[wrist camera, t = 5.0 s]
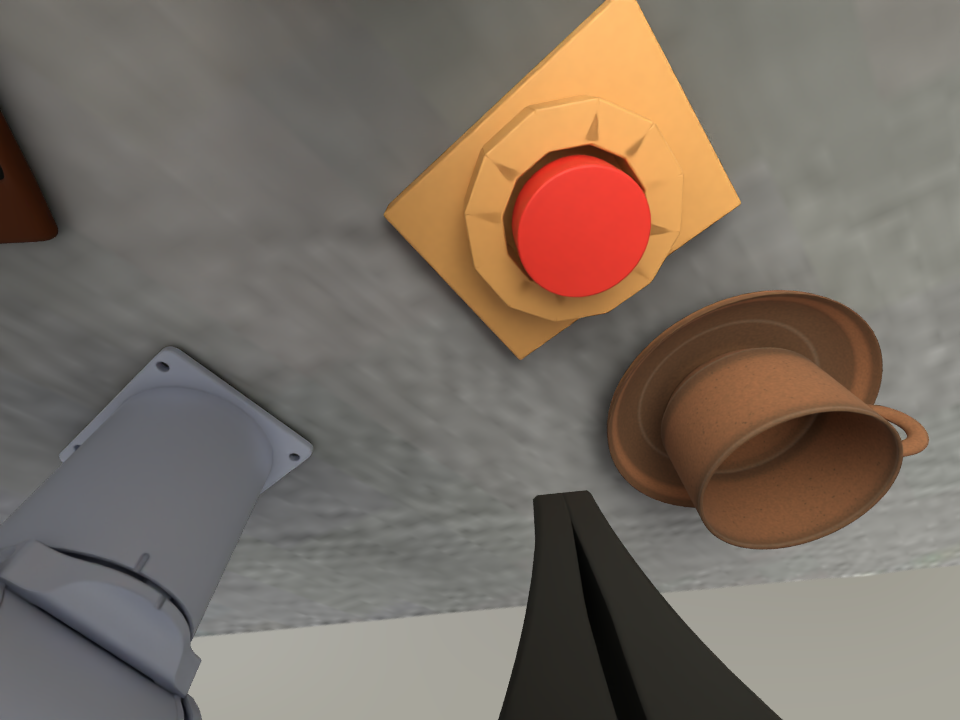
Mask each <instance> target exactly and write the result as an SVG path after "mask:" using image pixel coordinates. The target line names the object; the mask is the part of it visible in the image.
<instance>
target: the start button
mask: <svg viewBox="0 0 960 720" xmlns="http://www.w3.org/2000/svg"><path fill="white" fill-rule="evenodd" d="M650 232H651V213H650V208H649V204H648V201H647V198H646V196H645V194H644V192H643V191H642V189H641V188H640V186H639V185H638V184H637V183H636V182H635V181H634V180H633V179H632V178H631V177H630V176H629V175H627V174H626V173H624V172H623V171H621V170H620V169H618V168H616V167H615V166H613V165H612V164H610V163H608V162H606V161H604V160H602V159H600V158H597V157H594V156H588V155H572V156H566V157H563V158H559V159H557V160H554V161H552V162H550V163H548V164H546V165H545V166H543V167H542V168H541V169H539V170H538V171H537V172H535V173H534V174H533V175H532V176H531V177H530V178H529V180H528V181H527V182H526V183H525V185H524V186H523V188H522V189H521V191H520V193H519V195H518V197H517V199H516V202H515V205H514V209H513V214H512V234H513V238H514V242H515V245H516V248H517V251H518V254H519V257H520V260H521V263H522V265H523V267H524V269H525V271H526V272H527V273H528V275H529V276H530V277H531V278H532V279H533V280H534V281H535V283H537V284H538V285H539V286H541V287H542V288H544V289H545V290H547V291H549V292H552V293H554V294H557V295H561V296H566V297H586V296H591V295H596V294H598V293H601V292H604V291H606V290H608V289H610V288H612V287H613V286H615V285H617V284H618V283H620V282H621V281H622V280H623V279H625V278H626V277H627V276H628V275H629V274H630V273H631V272H632V270H633V269H634V268H635V267H636V265H637V264H638V263H639V261H640V259H641V258H642V256H643V254H644V252H645V250H646V247H647V244H648V241H649V236H650Z"/></svg>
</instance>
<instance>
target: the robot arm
mask: <svg viewBox="0 0 960 720" xmlns="http://www.w3.org/2000/svg"><path fill="white" fill-rule="evenodd" d="M162 362H164V363H166V364H167V365H168V366H169V367H166V366H164V365H163V364H162ZM312 451H313V446H312V444H311V443H310V442H309V441H307V440H306V439H304V438H303V437H302V436H300V435H299V434H297V433H296V432H295V431H293V430H292V429H290V428H289V427H288V426H286V425H285V424H283V423H282V422H281V421H279V420H278V419H276V418H275V417H274V416H272V415H271V414H269V413H268V412H267V411H265V410H264V409H262V408H261V407H260V406H258V405H257V404H255V403H254V402H253V401H251V400H250V399H248V398H247V397H246V396H244V395H243V394H241V393H240V392H239V391H237V390H236V389H234V388H233V387H232V386H230V385H229V384H227V383H226V382H225V381H223V380H222V379H220V378H219V377H218V376H216V375H215V374H213V373H212V372H211V371H209V370H208V369H206V368H205V367H204V366H202V365H201V364H199V363H198V362H197V361H195V360H194V359H192V358H191V357H190V356H188V355H187V354H185V353H184V352H183V351H181V350H180V349H178V348H176V347H172V346H169V347H165V348H163V349H162V350H161V351H160V352H159V353H158V354H157V355H156V356H155V357H154V358H153V359H152V360H151V361H150V362H149V363H148V364H147V365H146V366H145V367H144V368H143V369H142V370H141V371H140V372H139V373H138V374H137V375H136V376H135V377H134V378H133V379H132V380H131V381H130V382H129V383H128V385H127V386H126V387H125V388H124V389H123V390H122V391H121V392H120V393H119V394H118V395H117V396H116V397H115V398H114V399H113V400H112V401H111V402H110V403H109V404H108V405H107V406H106V407H105V408H104V409H103V410H102V411H101V412H100V413H99V414H98V415H97V416H96V417H95V418H94V419H93V420H92V421H91V422H90V423H89V424H88V425H87V426H86V427H85V428H84V429H83V430H82V431H81V432H80V433H79V434H78V435H77V436H76V437H75V438H74V440H73V441H72V442H71V443H70V444H69V445H68V446H67V447H66V448H65V449H64V450H63V451H62V452H61V453H60V454H59V458H60V460H61V461H62V462H63V464H62V465H61V466H60V467H59V468H58V469H57V470H56V471H55V472H54V473H53V474H52V475H51V476H50V477H49V478H48V479H47V480H46V481H44V482H43V483H42V484H41V485H40V486H39V487H38V488H37V489H36V490H35V491H34V492H33V493H32V494H31V495H30V496H29V497H28V498H27V499H26V500H25V501H24V502H23V503H22V504H21V505H20V506H19V507H18V508H17V509H16V510H15V511H14V512H13V513H12V514H11V515H10V516H9V517H8V518H7V519H6V520H5V521H4V522H3V523H2V524H1V525H0V720H202V718H201V714H200V710H199V708H198V706H197V704H196V702H195V701H194V699H193V698H192V697H191V696H190V695H189V694H187V693H188V690H189V688H190V686H191V683H192V681H193V679H194V677H195V674H196V672H197V670H198V667H199V665H200V663H201V659H200V658H199V657H198V656H197V655H196V654H195V653H194V652H193V650H192V649H191V646H190V642H191V641H192V639H193V637H194V635H195V632H196V630H197V628H198V626H199V624H200V622H201V620H202V617H203V615H204V613H205V611H206V609H207V607H208V605H209V602H210V600H211V598H212V596H213V594H214V592H215V590H216V587H217V585H218V583H219V581H220V579H221V577H222V575H223V572H224V570H225V568H226V566H227V564H228V562H229V560H230V557H231V555H232V553H233V551H234V549H235V547H236V545H237V542H238V540H239V538H240V536H241V534H242V532H243V529H244V527H245V525H246V523H247V521H248V519H249V517H250V514H251V512H252V510H253V508H254V506H255V504H256V502H257V499H258V497H259V495H260V494H262V493H263V492H264V491H265V490H267V489H268V488H269V487H271V486H272V485H273V484H275V483H276V482H277V481H279V480H280V479H281V478H283V477H284V476H285V475H286V474H288V473H289V472H290V471H292V470H293V469H294V468H296V467H297V466H298V465H300V464H301V463H302V462H304V461H305V460H306V459H308V458H309V457H310V456H311V454H312ZM292 453H295V454H298V455H299V456H296V455H293V454H292ZM533 506H534V524H535V551H534V561H533V570H532V578H531V585H530V591H529V597H528V602H527V609H526V614H525V619H524V624H523V629H522V634H521V638H520V642H519V646H518V651H517V655H516V659H515V663H514V666H513V670H512V674H511V678H510V681H509V685H508V688H507V692H506V696H505V699H504V702H503V706H502V709H501V712H500V716H499V719H498V720H782V719H781V718H780V717H779V716H778V715H777V714H776V713H775V712H774V711H773V710H771V709H770V708H769V707H768V706H767V705H766V704H765V703H764V702H763V701H762V700H761V699H760V698H759V697H758V696H757V695H756V694H755V693H754V692H753V691H751V690H750V689H749V688H748V687H747V686H746V685H745V684H744V683H743V682H742V681H741V680H740V679H739V678H738V677H737V676H735V674H734V673H732V672H731V671H730V670H729V669H728V668H727V667H726V666H725V665H724V663H722V661H721V660H720V659H719V658H718V657H717V656H716V655H715V654H714V653H713V652H712V651H711V650H710V649H709V648H708V647H707V646H706V645H705V644H704V643H703V642H702V641H701V640H700V639H699V637H698V636H697V635H696V634H695V633H694V632H693V631H692V630H691V629H690V628H689V627H688V626H687V624H686V623H685V622H684V621H683V620H682V619H681V618H680V616H679V615H678V614H677V613H676V612H675V611H674V609H673V608H672V607H671V606H670V605H669V604H668V602H667V601H666V600H665V599H664V597H663V596H662V595H661V594H660V593H659V591H658V590H657V589H656V588H655V586H654V585H653V584H652V583H651V581H650V580H649V579H648V578H647V576H646V575H645V574H644V572H643V571H642V570H641V568H640V567H639V566H638V564H637V563H636V562H635V560H634V559H633V558H632V556H631V555H630V554H629V552H628V551H627V550H626V548H625V547H624V545H623V544H622V542H621V541H620V540H619V538H618V537H617V535H616V534H615V532H614V531H613V529H612V528H611V526H610V525H609V523H608V522H607V520H606V518H605V517H604V515H603V514H602V512H601V510H600V509H599V507H598V505H597V503H596V502H595V500H594V498H593V496H592V494H591V493H590V492H588V491H587V490H586V491H576V492H566V493H556V494H546V495H537V496H536V497H535V498H534V499H533Z"/></svg>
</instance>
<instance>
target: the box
mask: <svg viewBox="0 0 960 720" xmlns="http://www.w3.org/2000/svg"><path fill="white" fill-rule="evenodd" d="M572 155H588V156H594V157H597V158H600V159H602V160H604V161H606V162H608V163H610V164H612V165H613V166H615V167H616V168H618V169H620V170H621V171H623V172H624V173H626V174H627V175H629V176H630V177H631V178H632V179H633V180H634V181H635V182H636V183H637V184H638V185H639V186H640V188H641V189H642V191H643V192H644V194H645V196H646V198H647V201H648V204H649V208H650V213H651V232H650V236H649V241H648V244H647V247H646V250H645V252H644V254H643V256H642V258H641V259H640V261H639V263H638V264H637V265H636V267H635V268H634V269H633V270H632V272H631V273H630V274H629V275H628V276H627V277H626V278H625V279H623V280H622V281H621V282H620V283H618V284H617V285H615V286H613V287H612V288H610V289H608V290H606V291H604V292H601V293H598V294H596V295H591V296H586V297H566V296H561V295H557V294H554V293H552V292H549V291H547V290H545V289H544V288H542V287H541V286H539V285H538V284H537V283H535V281H534V280H533V279H532V278H531V277H530V276H529V275H528V273H527V272H526V271H525V269H524V267H523V265H522V263H521V260H520V257H519V254H518V251H517V248H516V245H515V242H514V238H513V234H512V214H513V209H514V205H515V202H516V199H517V197H518V195H519V193H520V191H521V189H522V188H523V186H524V185H525V183H526V182H527V181H528V180H529V178H530V177H531V176H532V175H533V174H534V173H535V172H537V171H538V170H539V169H541V168H542V167H543V166H545V165H546V164H548V163H550V162H552V161H554V160H557V159H559V158H563V157H566V156H572ZM740 204H741V201H740V199H739V197H738V195H737V194H736V192H735V190H734V188H733V186H732V184H731V182H730V180H729V178H728V176H727V174H726V172H725V170H724V169H723V167H722V165H721V163H720V161H719V159H718V157H717V155H716V153H715V151H714V149H713V147H712V145H711V144H710V142H709V140H708V138H707V136H706V134H705V132H704V130H703V128H702V126H701V124H700V122H699V120H698V119H697V117H696V115H695V113H694V111H693V109H692V107H691V105H690V103H689V101H688V99H687V97H686V95H685V94H684V92H683V90H682V88H681V86H680V84H679V82H678V80H677V78H676V76H675V74H674V72H673V70H672V69H671V67H670V65H669V63H668V61H667V59H666V57H665V55H664V53H663V51H662V49H661V47H660V45H659V43H658V42H657V40H656V38H655V36H654V34H653V32H652V30H651V28H650V26H649V24H648V22H647V20H646V18H645V17H644V15H643V13H642V11H641V9H640V7H639V5H638V3H637V1H636V0H606V1H605V2H604V3H603V4H602V5H601V6H599V7H598V8H597V9H596V10H595V11H594V12H593V13H592V14H591V15H590V16H589V17H588V18H587V19H586V20H585V21H584V22H582V23H581V24H580V25H579V26H578V27H577V28H576V29H575V30H574V31H573V32H572V33H571V34H570V35H569V36H568V37H566V38H565V39H564V40H563V41H562V42H561V43H560V44H559V45H558V46H557V47H556V48H555V49H554V50H553V51H552V52H550V53H549V54H548V55H547V56H546V57H545V58H544V59H543V60H542V61H541V62H540V63H539V64H538V65H537V66H536V67H535V68H533V69H532V70H531V71H530V72H529V73H528V74H527V75H526V76H525V77H524V78H523V79H522V80H521V81H520V82H519V83H517V84H516V85H515V86H514V87H513V88H512V89H511V90H510V91H509V92H508V93H507V94H506V95H505V96H504V97H503V98H502V99H500V100H499V101H498V102H497V103H496V104H495V105H494V106H493V107H492V108H491V109H490V110H489V111H488V112H487V113H486V114H484V115H483V116H482V117H481V118H480V119H479V120H478V121H477V122H476V123H475V124H474V125H473V126H472V127H471V128H470V129H468V130H467V131H466V132H465V133H464V134H463V135H462V136H461V137H460V138H459V139H458V140H457V141H456V142H455V143H454V144H453V145H451V146H450V147H449V148H448V149H447V150H446V151H445V152H444V153H443V154H442V155H441V156H440V157H439V158H438V159H437V160H435V161H434V162H433V163H432V164H431V165H430V166H429V167H428V168H427V169H426V170H425V171H424V172H423V173H422V174H421V175H419V176H418V177H417V178H416V179H415V180H414V181H413V182H412V183H411V184H410V185H409V186H408V187H407V188H406V189H405V190H404V191H402V192H401V193H400V194H399V195H398V196H397V197H396V198H395V199H394V200H393V201H392V202H391V203H390V204H389V205H388V207H387V209H386V211H385V213H384V217H385V218H386V219H387V220H388V221H389V222H390V223H391V224H392V225H393V226H394V227H395V228H396V230H397V231H398V232H399V233H400V234H401V235H402V236H403V237H404V238H405V239H406V240H407V241H408V242H409V243H410V244H411V245H412V246H413V248H414V249H415V250H416V251H417V252H418V253H419V254H420V255H421V256H422V257H423V258H424V259H425V260H426V261H427V262H428V263H429V264H430V266H431V267H432V268H433V269H434V270H435V271H436V272H437V273H438V274H439V275H440V276H441V277H442V278H443V279H444V280H445V281H446V282H447V284H448V285H449V286H450V287H451V288H452V289H453V290H454V291H455V292H456V293H457V294H458V295H459V296H460V297H461V298H462V299H463V300H464V302H465V303H466V304H467V305H468V306H469V307H470V308H471V309H472V310H473V311H474V312H475V313H476V314H477V315H478V316H479V317H480V318H481V320H482V321H483V322H484V323H485V324H486V325H487V326H488V327H489V328H490V329H491V330H492V331H493V332H494V333H495V334H496V335H497V337H498V338H499V339H500V340H501V341H502V342H503V343H504V344H505V345H506V346H507V347H508V348H509V349H510V350H511V351H512V352H513V353H514V355H515V356H516V357H517V358H518V359H520V360H521V359H523V358H524V357H526V356H527V355H529V354H530V353H531V352H533V351H534V350H536V349H537V348H538V347H540V346H541V345H543V344H544V343H545V342H547V341H548V340H550V339H551V338H553V337H554V336H555V335H557V334H558V333H560V332H561V331H562V330H564V329H565V328H567V327H568V326H569V325H571V324H572V323H574V322H575V321H577V320H578V319H579V318H582V317H588V316H594V315H599V314H605V313H608V312H610V311H611V310H612V309H614V308H615V307H617V306H618V305H620V304H621V303H622V302H624V301H625V300H627V299H628V298H630V297H631V296H632V295H634V294H635V293H637V292H638V291H640V290H641V289H643V288H644V287H645V286H647V285H648V284H650V283H651V281H652V280H653V279H654V277H655V275H656V274H657V272H658V270H659V269H660V267H661V265H662V263H663V262H664V260H665V258H666V257H667V256H668V255H670V254H671V253H673V252H674V251H675V250H677V249H678V248H680V247H681V246H682V245H684V244H685V243H687V242H688V241H689V240H691V239H692V238H694V237H695V236H697V235H698V234H699V233H701V232H702V231H704V230H705V229H706V228H708V227H709V226H711V225H712V224H713V223H715V222H716V221H718V220H719V219H721V218H722V217H723V216H725V215H726V214H728V213H729V212H730V211H732V210H733V209H735V208H736V207H737V206H739V205H740Z"/></svg>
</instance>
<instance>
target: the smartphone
mask: <svg viewBox="0 0 960 720" xmlns="http://www.w3.org/2000/svg"><path fill="white" fill-rule="evenodd" d="M57 234H58V228H57V225H56V223H55V221H54V219H53V217H52V214H51V212H50V210H49V208H48V206H47V203H46V201H45V199H44V197H43V194H42V192H41V190H40V188H39V186H38V184H37V182H36V180H35V178H34V176H33V174H32V172H31V170H30V168H29V166H28V164H27V162H26V160H25V158H24V156H23V154H22V152H21V150H20V148H19V146H18V144H17V142H16V140H15V138H14V136H13V134H12V132H11V130H10V128H9V126H8V124H7V122H6V120H5V118H4V116H3V114H2V112H1V110H0V244H2V243H21V242H38V241H46V240H50V239H53V238H54V237H56V236H57Z"/></svg>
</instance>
